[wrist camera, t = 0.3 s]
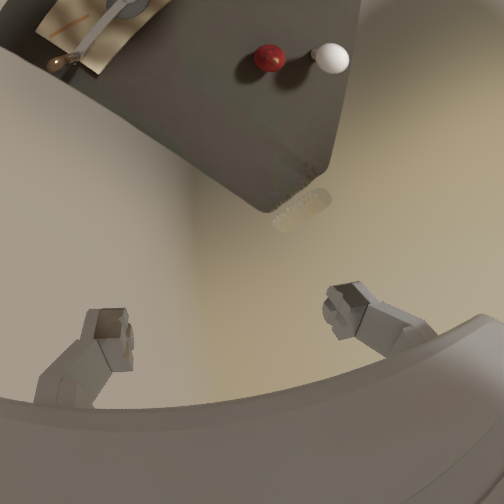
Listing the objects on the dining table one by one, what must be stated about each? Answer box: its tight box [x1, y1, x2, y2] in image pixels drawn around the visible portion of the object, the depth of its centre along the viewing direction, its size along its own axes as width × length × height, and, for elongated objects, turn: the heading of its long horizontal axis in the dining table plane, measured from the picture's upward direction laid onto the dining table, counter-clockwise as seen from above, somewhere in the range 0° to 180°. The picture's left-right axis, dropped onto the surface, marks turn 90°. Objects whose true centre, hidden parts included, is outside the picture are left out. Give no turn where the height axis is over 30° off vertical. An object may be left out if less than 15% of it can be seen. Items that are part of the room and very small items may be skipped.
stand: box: [35, 0, 171, 75], centre depth 28 cm, size 22×20×2 cm
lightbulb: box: [311, 43, 349, 74], centre depth 41 cm, size 6×6×11 cm
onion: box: [254, 45, 285, 72], centre depth 42 cm, size 6×6×8 cm
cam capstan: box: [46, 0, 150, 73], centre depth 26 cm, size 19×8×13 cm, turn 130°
